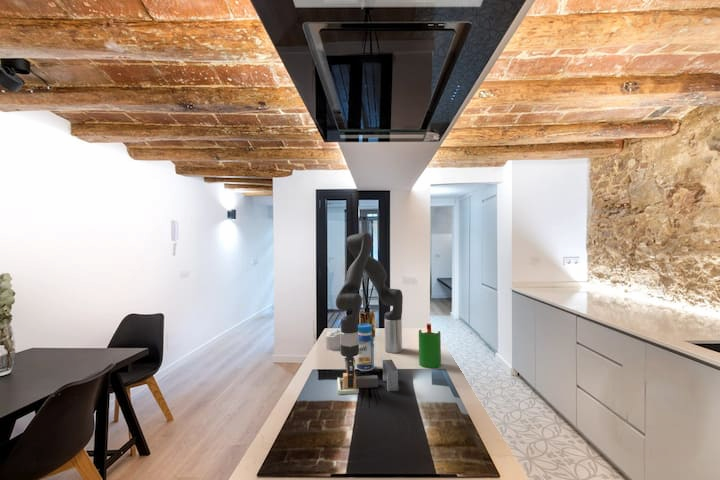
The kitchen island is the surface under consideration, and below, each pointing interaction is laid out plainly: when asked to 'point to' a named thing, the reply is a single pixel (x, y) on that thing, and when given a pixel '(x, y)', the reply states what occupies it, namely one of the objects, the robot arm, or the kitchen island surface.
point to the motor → (429, 348)
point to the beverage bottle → (365, 348)
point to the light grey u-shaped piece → (348, 391)
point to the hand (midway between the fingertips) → (350, 384)
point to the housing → (390, 375)
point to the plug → (361, 381)
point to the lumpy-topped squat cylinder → (333, 340)
